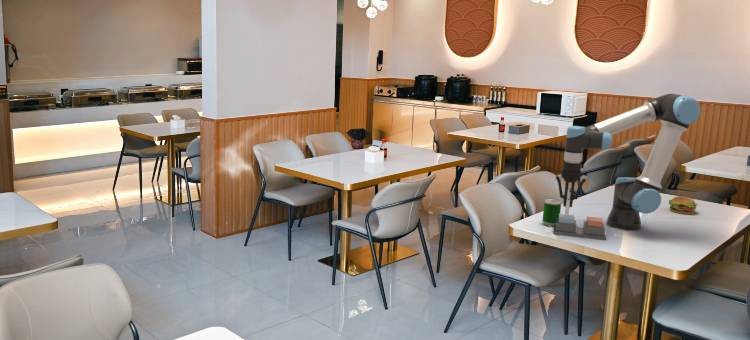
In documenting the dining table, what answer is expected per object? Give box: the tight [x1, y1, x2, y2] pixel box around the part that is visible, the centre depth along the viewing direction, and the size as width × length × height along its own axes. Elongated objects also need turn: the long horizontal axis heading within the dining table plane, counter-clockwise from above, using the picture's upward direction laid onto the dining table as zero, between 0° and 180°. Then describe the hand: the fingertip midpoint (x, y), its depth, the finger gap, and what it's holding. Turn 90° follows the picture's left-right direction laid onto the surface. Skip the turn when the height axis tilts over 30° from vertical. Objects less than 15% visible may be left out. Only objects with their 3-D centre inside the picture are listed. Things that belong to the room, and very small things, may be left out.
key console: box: [552, 218, 607, 241], centre depth 295 cm, size 22×11×5 cm, turn 75°
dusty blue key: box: [559, 213, 575, 224], centre depth 296 cm, size 6×6×3 cm
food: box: [668, 195, 698, 215], centre depth 346 cm, size 14×14×8 cm
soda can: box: [541, 197, 562, 227], centre depth 307 cm, size 8×8×12 cm
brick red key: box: [585, 216, 604, 227], centre depth 293 cm, size 6×6×3 cm
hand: (566, 213), depth 295 cm, fingers closed
